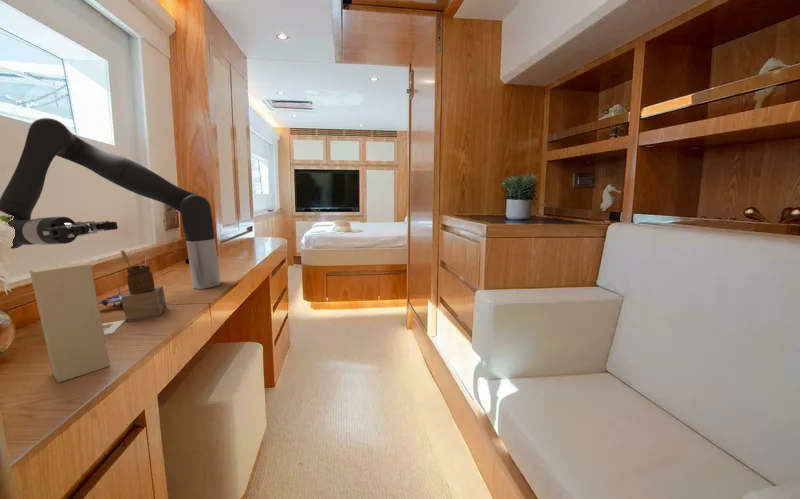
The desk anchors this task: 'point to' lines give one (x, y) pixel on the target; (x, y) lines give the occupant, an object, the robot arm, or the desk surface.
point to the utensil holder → (139, 277)
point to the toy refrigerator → (70, 319)
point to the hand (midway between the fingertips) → (102, 227)
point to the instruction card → (111, 327)
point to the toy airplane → (112, 300)
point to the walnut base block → (144, 304)
